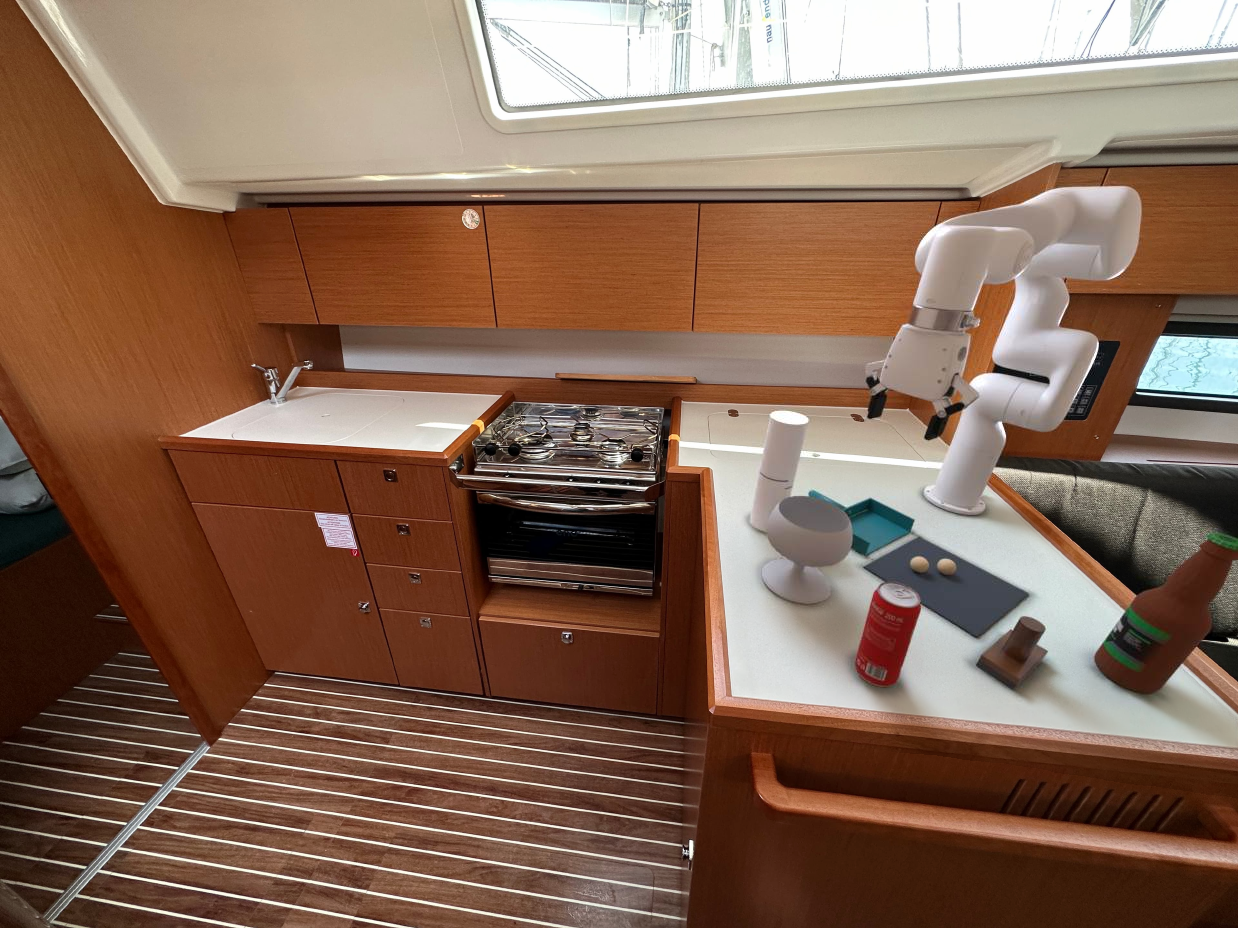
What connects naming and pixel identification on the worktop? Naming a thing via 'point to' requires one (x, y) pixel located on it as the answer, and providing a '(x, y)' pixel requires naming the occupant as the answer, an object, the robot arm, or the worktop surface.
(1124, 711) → the worktop surface
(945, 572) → the crumb
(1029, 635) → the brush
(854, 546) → the dustpan
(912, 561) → the crumb
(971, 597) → the mat
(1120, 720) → the worktop surface
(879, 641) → the beverage can
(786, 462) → the cylindrical container
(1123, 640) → the bottle
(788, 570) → the chalice
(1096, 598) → the worktop surface
